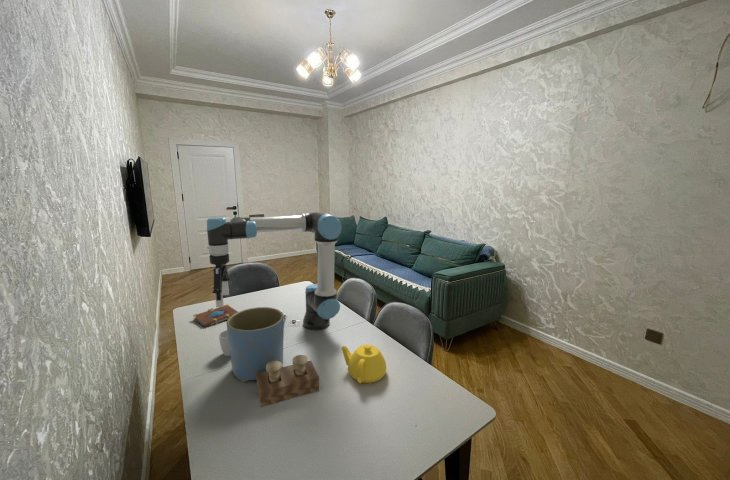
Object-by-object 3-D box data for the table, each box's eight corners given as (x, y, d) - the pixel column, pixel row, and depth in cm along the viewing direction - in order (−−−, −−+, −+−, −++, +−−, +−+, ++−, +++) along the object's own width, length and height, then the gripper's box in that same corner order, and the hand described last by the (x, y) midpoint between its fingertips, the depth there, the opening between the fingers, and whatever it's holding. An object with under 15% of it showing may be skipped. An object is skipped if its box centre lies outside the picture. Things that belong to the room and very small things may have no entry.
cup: (232, 359, 139) (230, 339, 137) (216, 356, 141) (214, 337, 139) (242, 349, 147) (241, 330, 145) (227, 347, 148) (226, 328, 146)
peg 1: (280, 375, 121) (280, 359, 120) (283, 384, 116) (283, 367, 115) (265, 379, 119) (264, 362, 117) (267, 388, 114) (267, 371, 112)
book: (246, 315, 186) (246, 308, 185) (204, 330, 167) (204, 322, 166) (233, 306, 196) (232, 299, 194) (192, 320, 177) (191, 312, 176)
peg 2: (305, 369, 125) (305, 353, 124) (309, 377, 120) (309, 361, 119) (291, 373, 123) (291, 356, 122) (294, 381, 118) (294, 364, 116)
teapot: (390, 366, 136) (391, 340, 134) (378, 393, 119) (379, 364, 116) (348, 357, 143) (349, 332, 140) (331, 381, 125) (331, 353, 123)
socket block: (311, 373, 130) (310, 360, 129) (319, 390, 120) (319, 377, 119) (257, 386, 121) (256, 373, 120) (260, 407, 110) (260, 392, 109)
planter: (232, 391, 118) (228, 336, 114) (228, 360, 138) (224, 312, 133) (290, 375, 129) (289, 324, 124) (279, 348, 148) (277, 303, 144)
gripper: (215, 247, 141) (219, 291, 145) (202, 262, 117) (206, 313, 121) (233, 247, 143) (236, 289, 147) (223, 261, 119) (227, 311, 123)
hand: (222, 300), depth 134 cm, fingers open, 13 cm apart
